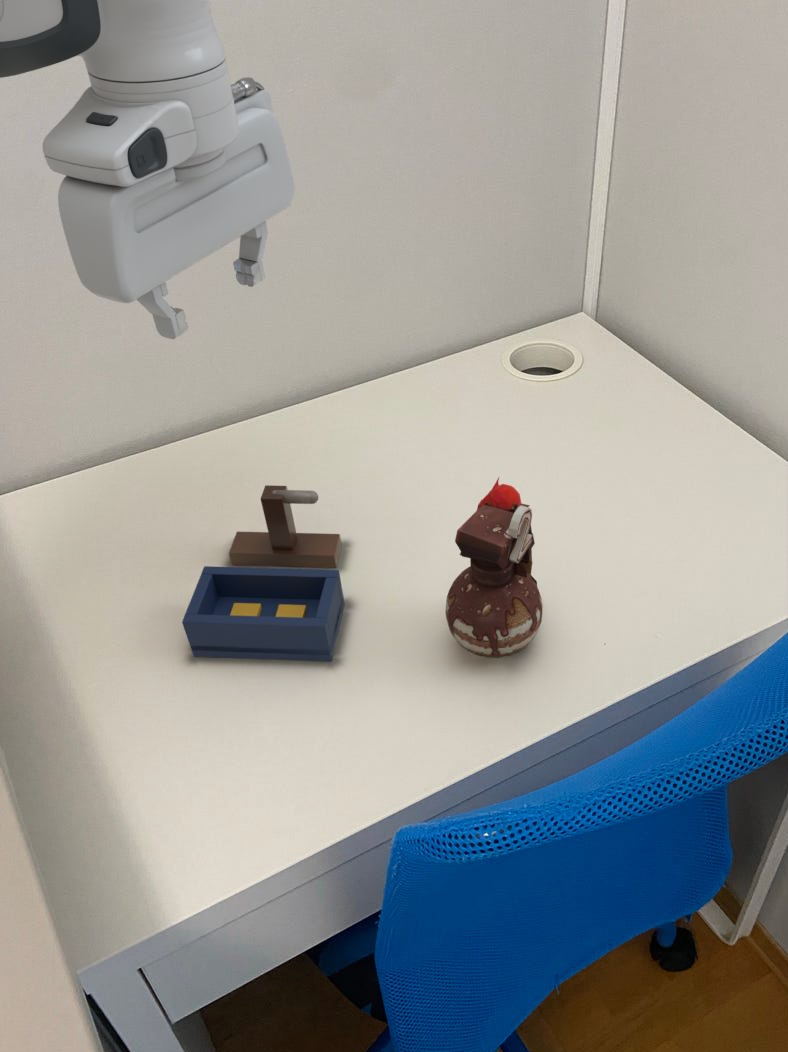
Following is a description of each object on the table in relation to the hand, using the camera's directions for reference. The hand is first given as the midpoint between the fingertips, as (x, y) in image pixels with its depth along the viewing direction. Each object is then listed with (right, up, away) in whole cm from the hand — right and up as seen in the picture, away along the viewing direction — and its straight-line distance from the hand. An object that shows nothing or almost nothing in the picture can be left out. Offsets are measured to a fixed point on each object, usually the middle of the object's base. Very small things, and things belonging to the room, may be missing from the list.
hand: (214, 307), depth 73 cm
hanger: (+2, -18, +17) cm, 25 cm away
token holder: (+2, -25, +10) cm, 27 cm away
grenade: (+22, -26, +9) cm, 35 cm away
